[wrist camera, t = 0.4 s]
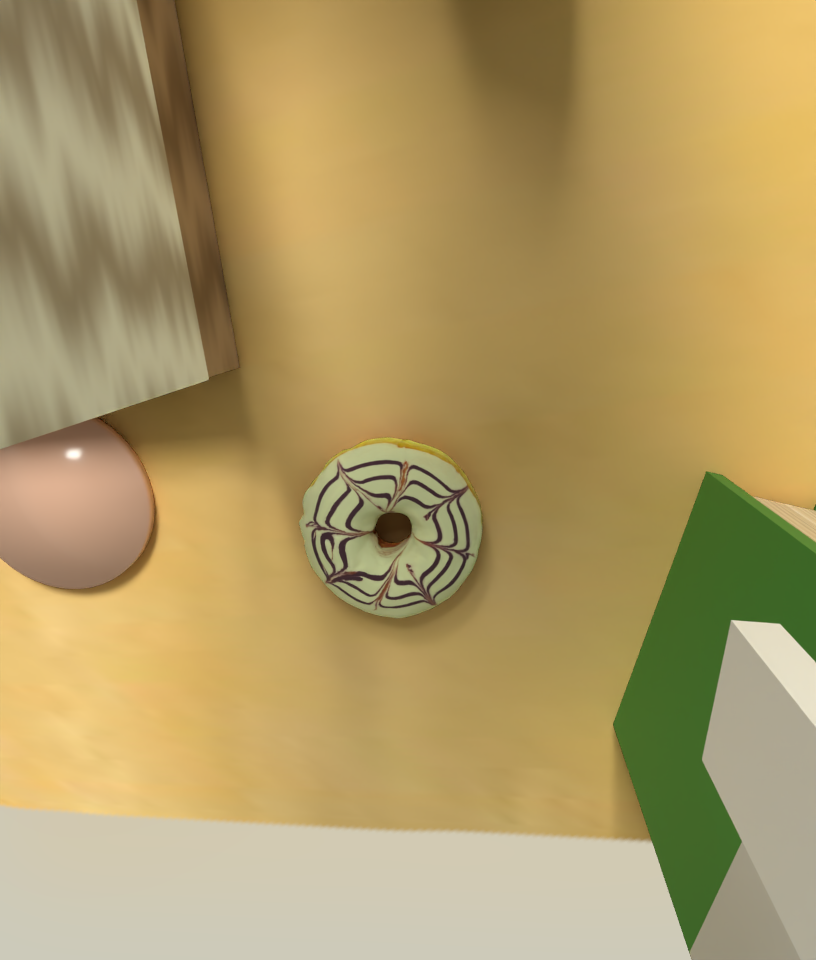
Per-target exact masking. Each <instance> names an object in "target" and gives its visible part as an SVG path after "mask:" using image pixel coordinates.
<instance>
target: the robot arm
mask: <svg viewBox="0 0 816 960" xmlns="http://www.w3.org/2000/svg"><path fill="white" fill-rule="evenodd" d="M702 761H703V763H704V765H705V767H706V769H707V771H708V773H709V775H710V777H711V779H712V781H713V783H714V785H715V787H716V789H717V791H718V793H719V796H720V798H721V800H722V802H723V804H724V806H725V808H726V810H727V812H728V814H729V816H730V818H731V820H732V822H733V824H734V826H735V828H736V830H737V832H738V834H739V836H740V838H741V840H742V842H743V844H744V846H745V848H746V850H747V852H748V854H749V856H750V858H751V860H752V862H753V864H754V866H755V868H756V870H757V872H758V875H759V877H760V879H761V881H762V883H763V885H764V887H765V889H766V891H767V893H768V895H769V897H770V899H771V901H772V903H773V905H774V907H775V909H776V911H777V913H778V915H779V917H780V919H781V921H782V923H783V925H784V927H785V929H786V931H787V933H788V935H789V937H790V939H791V941H792V943H793V945H794V947H795V949H796V951H797V954H798V956H799V958H800V960H816V662H815V661H814V660H813V659H812V658H811V657H810V656H809V655H808V654H807V652H806V651H805V650H804V649H803V648H802V647H801V646H800V645H799V644H798V643H797V642H796V641H795V639H794V638H793V637H792V636H791V635H790V634H789V633H788V632H787V631H786V630H785V629H784V628H783V627H782V625H781V624H775V623H762V622H749V621H736V620H731V623H730V628H729V633H728V637H727V642H726V647H725V652H724V657H723V661H722V666H721V671H720V676H719V680H718V685H717V690H716V695H715V699H714V704H713V709H712V714H711V718H710V723H709V728H708V733H707V737H706V742H705V747H704V752H703V757H702Z"/></svg>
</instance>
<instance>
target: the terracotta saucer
mask: <svg viewBox="0 0 816 960" xmlns="http://www.w3.org/2000/svg"><path fill="white" fill-rule="evenodd" d="M154 516H155V508H154V497H153V491H152V487H151V484H150V481H149V478H148V475H147V473H146V471H145V468H144V466H143V465H142V463H141V461H140V459H139V458H138V456H137V454H136V453H135V452H134V450H133V449H132V448H131V446H130V445H129V444H128V443H127V442H126V441H125V440H124V439H123V437H122V436H121V435H120V434H118V433H117V432H116V431H115V430H114V429H113V428H111V427H110V426H109V425H107V424H106V423H104V422H103V421H101V420H100V419H98V418H93V419H90V420H87V421H84V422H81V423H78V424H75V425H72V426H69V427H66V428H63V429H60V430H57V431H54V432H51V433H48V434H45V435H42V436H39V437H36V438H33V439H30V440H27V441H24V442H21V443H18V444H15V445H11V446H8V447H5V448H2V449H0V558H1V559H2V560H3V561H4V562H6V563H7V564H8V565H9V566H11V567H12V568H13V569H15V570H16V571H18V572H20V573H21V574H23V575H25V576H27V577H29V578H31V579H33V580H35V581H37V582H40V583H43V584H46V585H50V586H54V587H58V588H66V589H82V588H90V587H94V586H98V585H101V584H104V583H106V582H108V581H111V580H112V579H114V578H116V577H117V576H119V575H120V574H122V573H123V572H124V571H125V570H126V569H128V568H129V567H130V566H131V565H132V564H133V563H135V561H136V560H137V559H138V558H139V557H140V556H141V554H142V553H143V551H144V549H145V548H146V546H147V544H148V541H149V539H150V537H151V533H152V529H153V525H154Z"/></svg>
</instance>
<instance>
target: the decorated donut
mask: <svg viewBox="0 0 816 960" xmlns="http://www.w3.org/2000/svg"><path fill="white" fill-rule="evenodd" d="M303 510H304V513H303V516H302V518H301V520H300V521H299V525H300V529H301V532H302V536H303V538H304V541H305V544H304V546H305V549H306V554H307V557H308V559H309V562H310V565H311V567H312V568H313V570H314V571H315V573H316V574H317V575H318V576H319V577H320V579H321V580H322V581H323V583H324V584H325V585H326V586H327V587H328V588H329V589H330V590H331V591H332V592H333V593H334V594H335V595H336V596H338V597H339V598H341V599H342V600H343V601H345V602H346V603H348V604H350V605H352V606H354V607H356V608H359V609H361V610H363V611H364V612H368V613H371V614H374V615H378V616H383V617H391V618H404V617H409V616H412V615H416V614H419V613H422V612H424V611H427V610H430V609H432V608H434V607H435V606H437V605H439V604H440V603H442V602H443V601H445V600H447V599H449V598H450V597H451V596H452V595H453V594H454V593H455V592H456V591H457V590H458V589H459V587H460V586H461V585H462V583H463V582H464V581H465V580H466V578H467V576H468V575H469V574H470V572H471V571H472V570H473V567H474V564H475V562H476V560H477V556H478V551H479V547H480V543H481V538H482V522H483V518H482V511H481V505H480V502H479V499H478V497H477V495H476V492H475V490H474V489H473V486H472V485H471V483H470V481H469V479H468V478H467V477H466V475H465V473H464V472H463V471H462V470H461V469H460V467H459V466H458V465H457V464H456V463H455V462H454V461H453V460H452V459H451V458H450V457H449V456H448V455H446V454H445V453H443V452H442V451H440V450H438V449H436V448H433V447H431V446H428V445H424V444H420V443H417V442H414V441H411V440H408V439H406V440H401V439H395V438H391V437H384V438H378V439H370V440H366V441H363V442H361V443H360V444H358V445H356V446H354V447H353V448H350V449H346V450H343V451H341V452H340V453H338V454H337V455H335V456H334V457H333V458H331V459H330V460H329V461H328V462H327V463H326V465H325V467H324V468H323V470H322V472H321V473H320V474H319V476H318V477H317V478H316V479H315V480H314V481H313V482H312V483H311V485H310V487H309V488H308V490H307V491H306V492H305V495H304V498H303ZM391 512H397V513H402V514H405V515H406V516H407V517H408V518H409V519H410V521H411V524H412V530H411V534H410V535H409V536H408V537H407V539H404V540H403V541H401V542H400V543H395V544H394V543H388V542H386V541H383V540H382V539H381V538H380V537H379V536H378V533H377V531H375V530H374V528H375V526H376V523H377V520H378V518H379V517H380V516H381V515H383V514H385V513H391Z"/></svg>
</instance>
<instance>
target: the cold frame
mask: <svg viewBox="0 0 816 960" xmlns="http://www.w3.org/2000/svg"><path fill="white" fill-rule="evenodd" d="M239 367H240V366H239V361H238V355H237V349H236V344H235V338H234V333H233V327H232V321H231V316H230V310H229V304H228V299H227V293H226V288H225V282H224V276H223V271H222V265H221V259H220V254H219V248H218V242H217V237H216V231H215V226H214V220H213V214H212V209H211V203H210V197H209V192H208V186H207V180H206V175H205V169H204V164H203V158H202V152H201V147H200V141H199V135H198V130H197V124H196V118H195V113H194V107H193V102H192V96H191V90H190V85H189V79H188V73H187V68H186V62H185V56H184V51H183V45H182V40H181V34H180V28H179V23H178V17H177V11H176V6H175V0H0V449H2V448H5V447H8V446H11V445H15V444H18V443H21V442H24V441H27V440H30V439H33V438H36V437H39V436H42V435H45V434H48V433H51V432H54V431H57V430H60V429H63V428H66V427H69V426H72V425H75V424H78V423H81V422H84V421H87V420H90V419H93V418H96V417H99V416H102V415H105V414H108V413H111V412H114V411H117V410H120V409H123V408H126V407H129V406H132V405H135V404H138V403H141V402H144V401H147V400H150V399H153V398H156V397H159V396H162V395H165V394H168V393H171V392H174V391H177V390H180V389H183V388H186V387H189V386H192V385H195V384H198V383H201V382H204V381H207V380H209V377H211V376H214V375H218V374H221V373H224V372H227V371H230V370H233V369H236V368H239Z"/></svg>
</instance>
